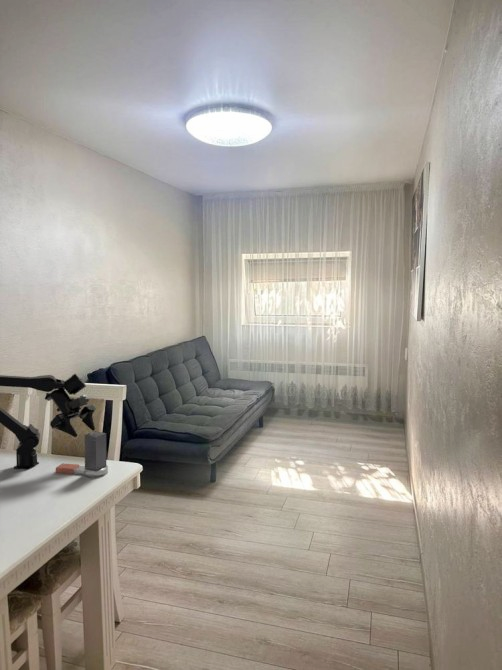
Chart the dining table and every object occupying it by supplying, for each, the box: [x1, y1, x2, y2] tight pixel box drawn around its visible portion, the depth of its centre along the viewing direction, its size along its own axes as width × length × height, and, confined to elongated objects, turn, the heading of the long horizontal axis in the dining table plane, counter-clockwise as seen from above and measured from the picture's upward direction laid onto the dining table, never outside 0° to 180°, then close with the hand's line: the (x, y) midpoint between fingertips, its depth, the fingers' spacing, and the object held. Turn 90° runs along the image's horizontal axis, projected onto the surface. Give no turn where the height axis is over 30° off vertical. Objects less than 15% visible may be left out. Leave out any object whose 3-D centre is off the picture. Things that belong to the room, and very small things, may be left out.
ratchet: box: [55, 462, 109, 479], centre depth 165 cm, size 19×8×4 cm, turn 82°
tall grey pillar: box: [84, 430, 107, 472], centre depth 164 cm, size 5×5×13 cm
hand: (85, 433), depth 169 cm, fingers open, 9 cm apart
